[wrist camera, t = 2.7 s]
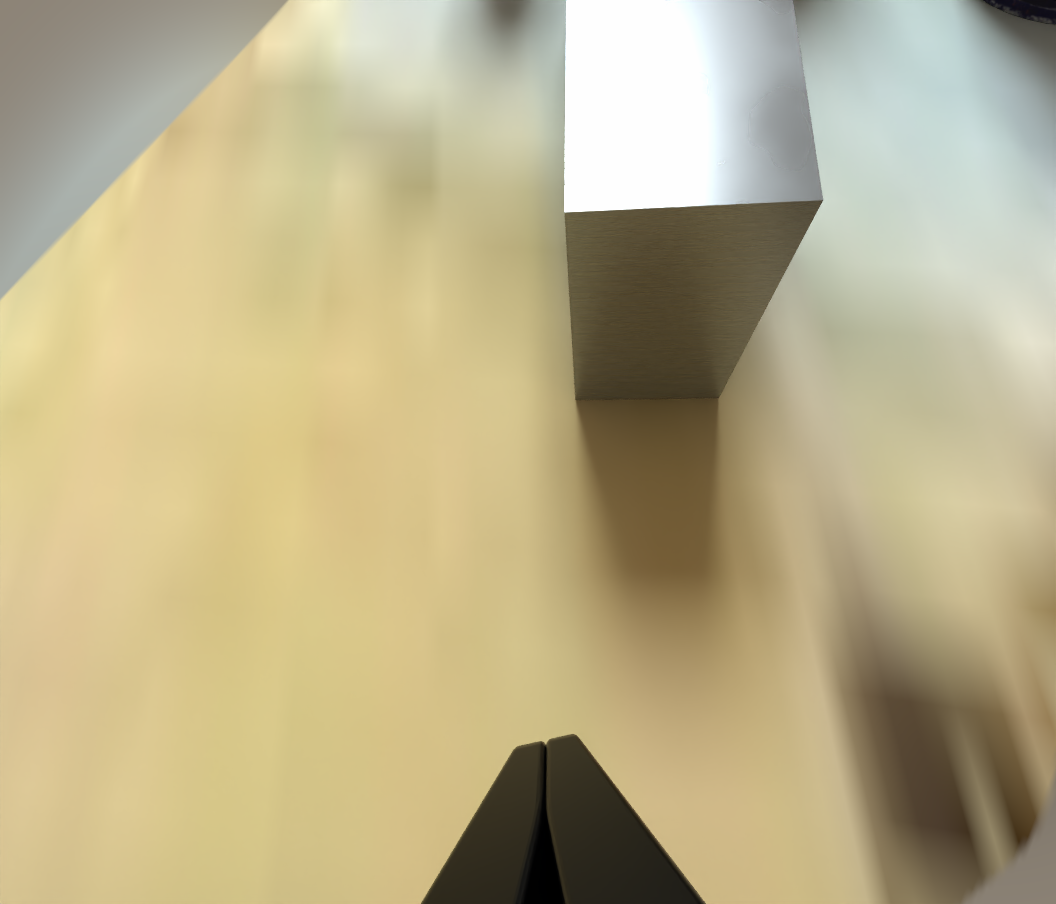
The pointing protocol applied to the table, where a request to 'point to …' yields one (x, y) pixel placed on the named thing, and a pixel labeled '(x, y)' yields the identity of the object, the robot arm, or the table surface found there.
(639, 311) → the silver rectangular block
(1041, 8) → the storage jar
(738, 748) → the table surface
